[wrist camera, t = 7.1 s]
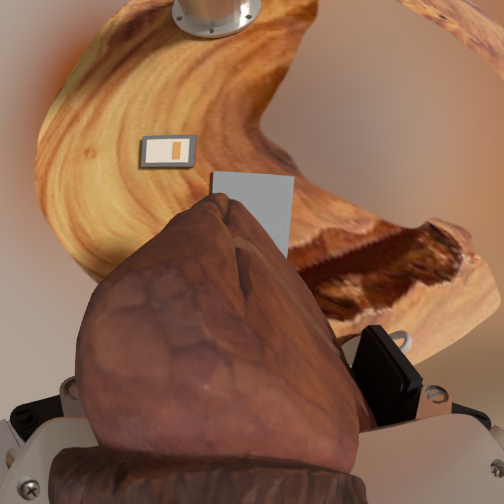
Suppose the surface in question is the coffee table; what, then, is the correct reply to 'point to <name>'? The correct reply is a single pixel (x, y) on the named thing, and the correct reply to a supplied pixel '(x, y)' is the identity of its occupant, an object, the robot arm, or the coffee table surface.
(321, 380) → the wooden figurine
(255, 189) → the mat
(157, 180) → the coffee table surface
